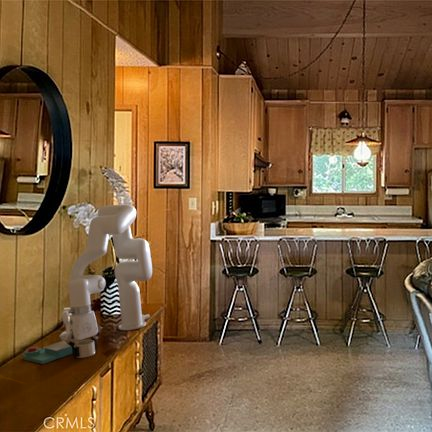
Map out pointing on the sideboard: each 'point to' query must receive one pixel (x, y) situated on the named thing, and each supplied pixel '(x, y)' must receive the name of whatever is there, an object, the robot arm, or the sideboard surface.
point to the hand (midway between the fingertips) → (85, 352)
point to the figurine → (65, 320)
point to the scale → (39, 356)
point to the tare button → (32, 349)
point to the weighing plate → (59, 349)
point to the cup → (86, 348)
